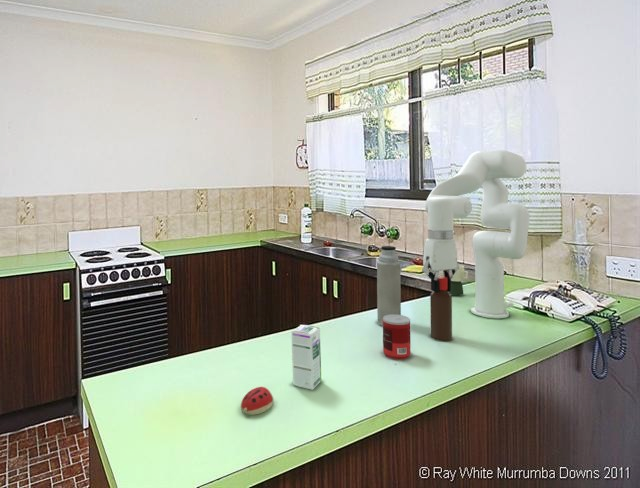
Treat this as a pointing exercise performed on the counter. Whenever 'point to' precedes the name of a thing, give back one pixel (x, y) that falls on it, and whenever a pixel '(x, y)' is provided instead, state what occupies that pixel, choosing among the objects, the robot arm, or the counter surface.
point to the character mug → (458, 281)
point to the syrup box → (306, 356)
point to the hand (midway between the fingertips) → (440, 290)
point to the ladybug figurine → (257, 401)
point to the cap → (443, 282)
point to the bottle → (441, 315)
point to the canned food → (396, 336)
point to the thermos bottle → (388, 284)
